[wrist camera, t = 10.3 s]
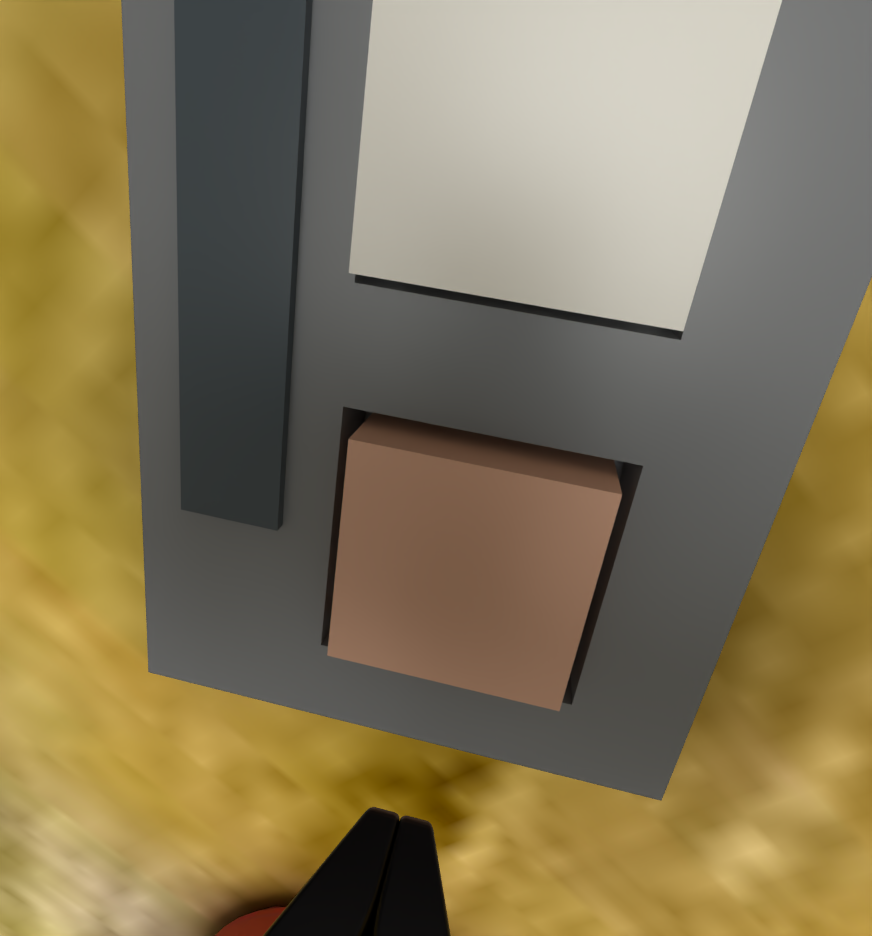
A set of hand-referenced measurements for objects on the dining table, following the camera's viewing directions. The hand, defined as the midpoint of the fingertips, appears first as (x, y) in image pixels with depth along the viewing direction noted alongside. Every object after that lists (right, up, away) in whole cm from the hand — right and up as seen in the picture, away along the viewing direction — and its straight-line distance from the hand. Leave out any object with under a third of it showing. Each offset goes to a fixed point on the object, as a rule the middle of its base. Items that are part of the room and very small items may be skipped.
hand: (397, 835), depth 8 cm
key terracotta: (+1, +3, +8) cm, 8 cm away
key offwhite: (+3, +11, +3) cm, 12 cm away
